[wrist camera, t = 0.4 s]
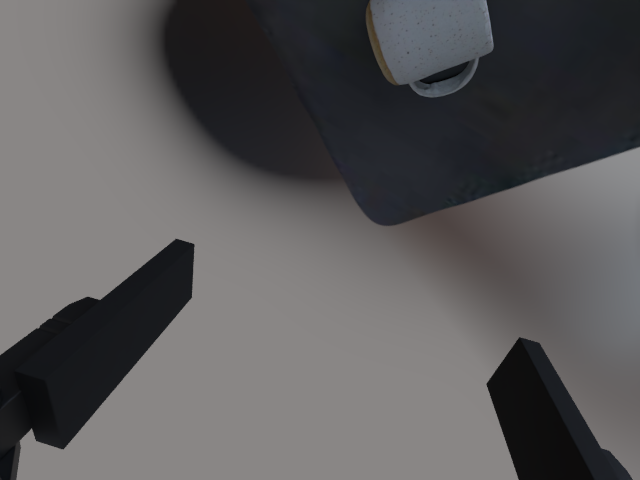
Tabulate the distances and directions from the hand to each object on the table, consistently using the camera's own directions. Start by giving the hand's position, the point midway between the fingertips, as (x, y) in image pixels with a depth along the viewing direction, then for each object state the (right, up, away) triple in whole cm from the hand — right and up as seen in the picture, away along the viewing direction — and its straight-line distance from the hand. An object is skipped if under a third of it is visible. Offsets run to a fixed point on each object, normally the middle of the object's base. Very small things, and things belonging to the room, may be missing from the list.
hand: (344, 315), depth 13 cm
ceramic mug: (+9, +22, +16) cm, 28 cm away
